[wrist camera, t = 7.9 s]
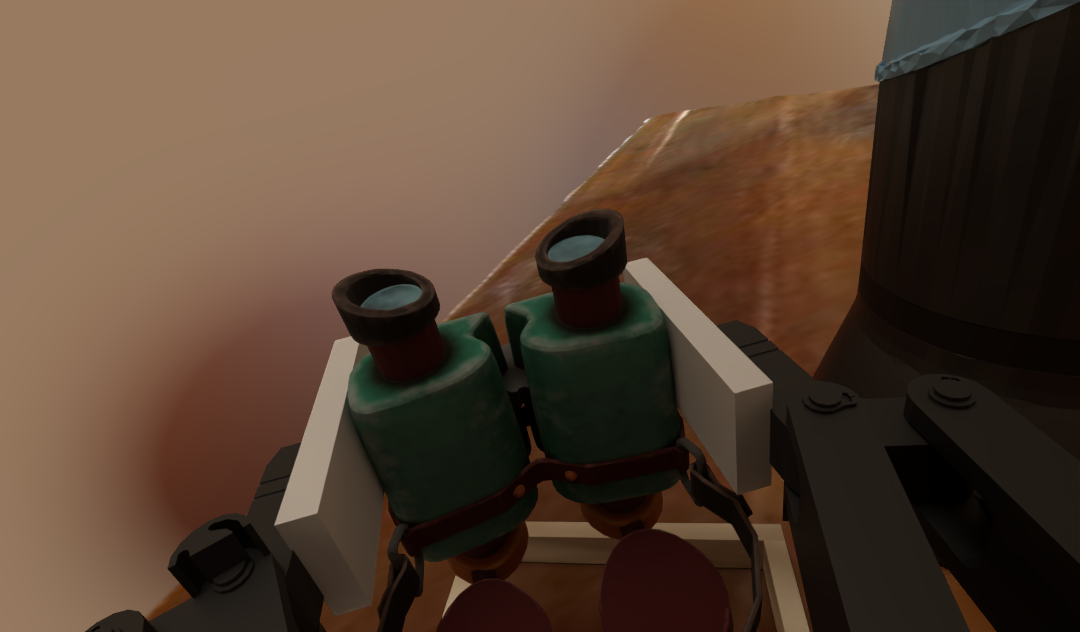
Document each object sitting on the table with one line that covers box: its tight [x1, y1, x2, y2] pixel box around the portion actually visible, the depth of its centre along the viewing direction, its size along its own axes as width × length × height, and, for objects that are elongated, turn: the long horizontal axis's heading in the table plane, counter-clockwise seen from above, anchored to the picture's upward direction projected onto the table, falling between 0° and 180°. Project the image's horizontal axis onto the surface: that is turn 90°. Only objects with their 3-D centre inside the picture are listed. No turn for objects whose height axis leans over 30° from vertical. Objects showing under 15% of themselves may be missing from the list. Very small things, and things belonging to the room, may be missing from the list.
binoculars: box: [332, 209, 763, 632], centre depth 12 cm, size 9×11×10 cm
